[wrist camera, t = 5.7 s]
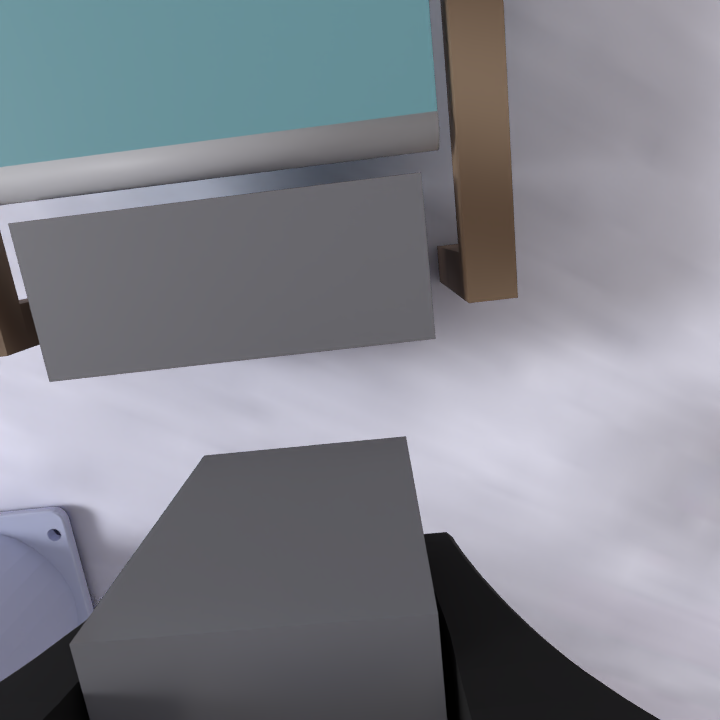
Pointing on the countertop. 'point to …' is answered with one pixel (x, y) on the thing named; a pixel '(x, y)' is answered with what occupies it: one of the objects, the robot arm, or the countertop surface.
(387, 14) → the trapdoor
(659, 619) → the countertop surface
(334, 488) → the gray block
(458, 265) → the frame
